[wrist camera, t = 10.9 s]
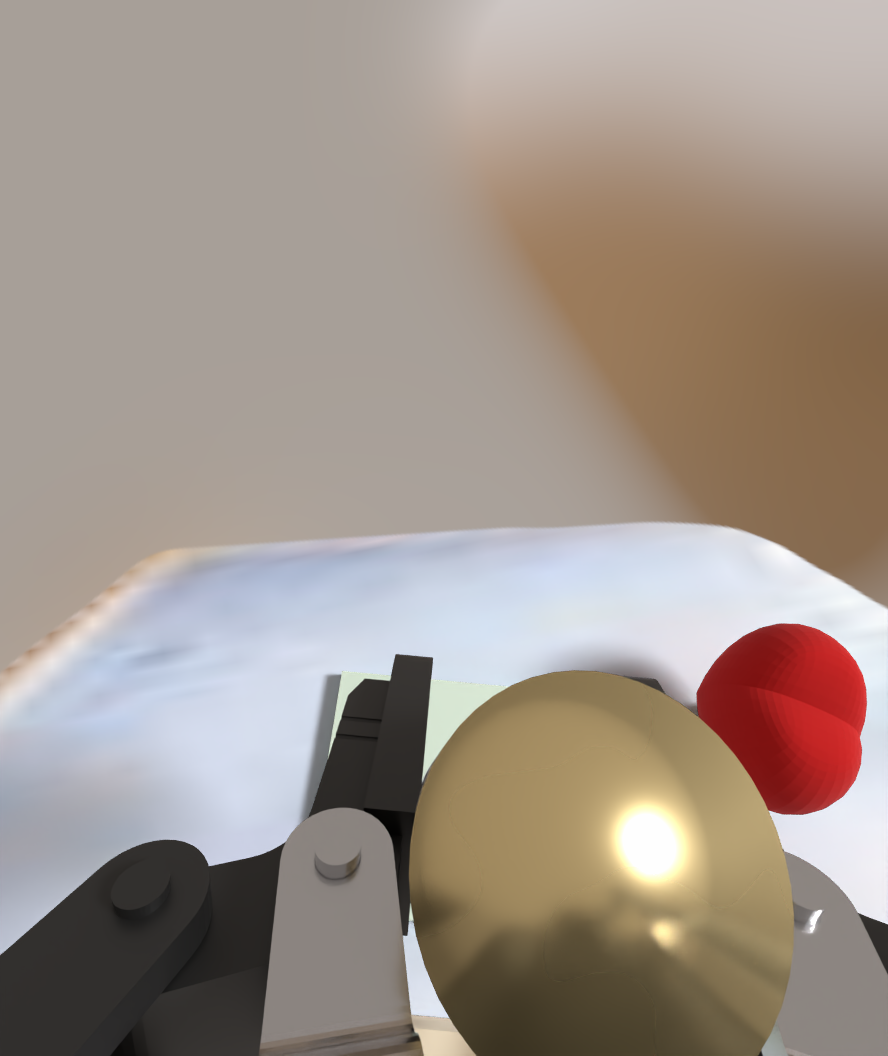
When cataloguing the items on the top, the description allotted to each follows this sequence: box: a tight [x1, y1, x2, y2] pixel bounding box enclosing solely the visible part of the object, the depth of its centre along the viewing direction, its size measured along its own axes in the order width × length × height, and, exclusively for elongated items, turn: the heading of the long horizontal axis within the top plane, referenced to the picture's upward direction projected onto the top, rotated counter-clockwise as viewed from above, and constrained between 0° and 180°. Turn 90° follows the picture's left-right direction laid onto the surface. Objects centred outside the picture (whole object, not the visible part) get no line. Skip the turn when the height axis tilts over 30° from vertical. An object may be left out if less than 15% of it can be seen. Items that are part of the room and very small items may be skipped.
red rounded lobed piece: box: [697, 624, 867, 815], centre depth 28 cm, size 9×7×10 cm
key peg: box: [409, 670, 794, 1056], centre depth 11 cm, size 4×4×13 cm
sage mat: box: [328, 671, 508, 921], centre depth 30 cm, size 14×12×1 cm
